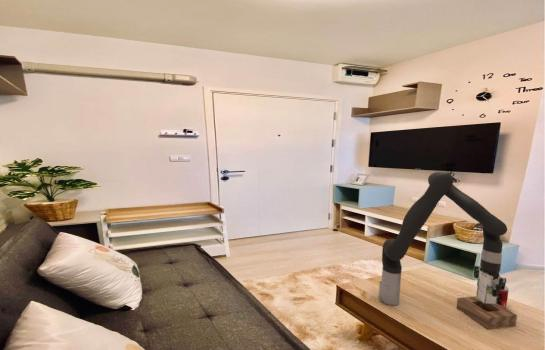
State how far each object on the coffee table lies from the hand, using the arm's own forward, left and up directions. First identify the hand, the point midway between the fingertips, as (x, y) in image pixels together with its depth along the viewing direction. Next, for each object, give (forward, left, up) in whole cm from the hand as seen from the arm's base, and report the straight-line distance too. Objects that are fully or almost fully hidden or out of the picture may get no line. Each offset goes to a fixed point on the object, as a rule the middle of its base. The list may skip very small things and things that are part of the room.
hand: (487, 292), depth 125 cm
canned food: (+16, +7, -13) cm, 22 cm away
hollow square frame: (0, 0, -13) cm, 13 cm away
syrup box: (0, 0, -5) cm, 5 cm away
